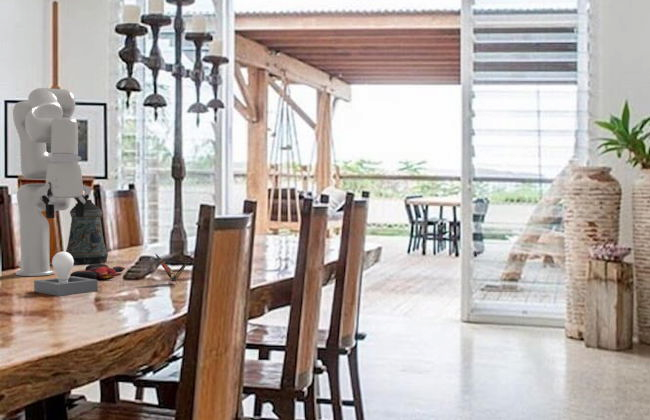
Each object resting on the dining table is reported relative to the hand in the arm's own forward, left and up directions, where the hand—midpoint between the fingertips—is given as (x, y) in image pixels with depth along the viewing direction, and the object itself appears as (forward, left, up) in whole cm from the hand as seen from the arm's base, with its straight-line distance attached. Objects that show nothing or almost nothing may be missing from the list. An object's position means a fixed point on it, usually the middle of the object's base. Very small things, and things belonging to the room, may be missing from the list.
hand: (65, 217), depth 225 cm
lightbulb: (0, -1, -21) cm, 21 cm away
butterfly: (+13, +30, -22) cm, 40 cm away
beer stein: (-64, +48, -22) cm, 83 cm away
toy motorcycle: (-20, +26, -23) cm, 40 cm away
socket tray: (0, 0, -22) cm, 22 cm away
